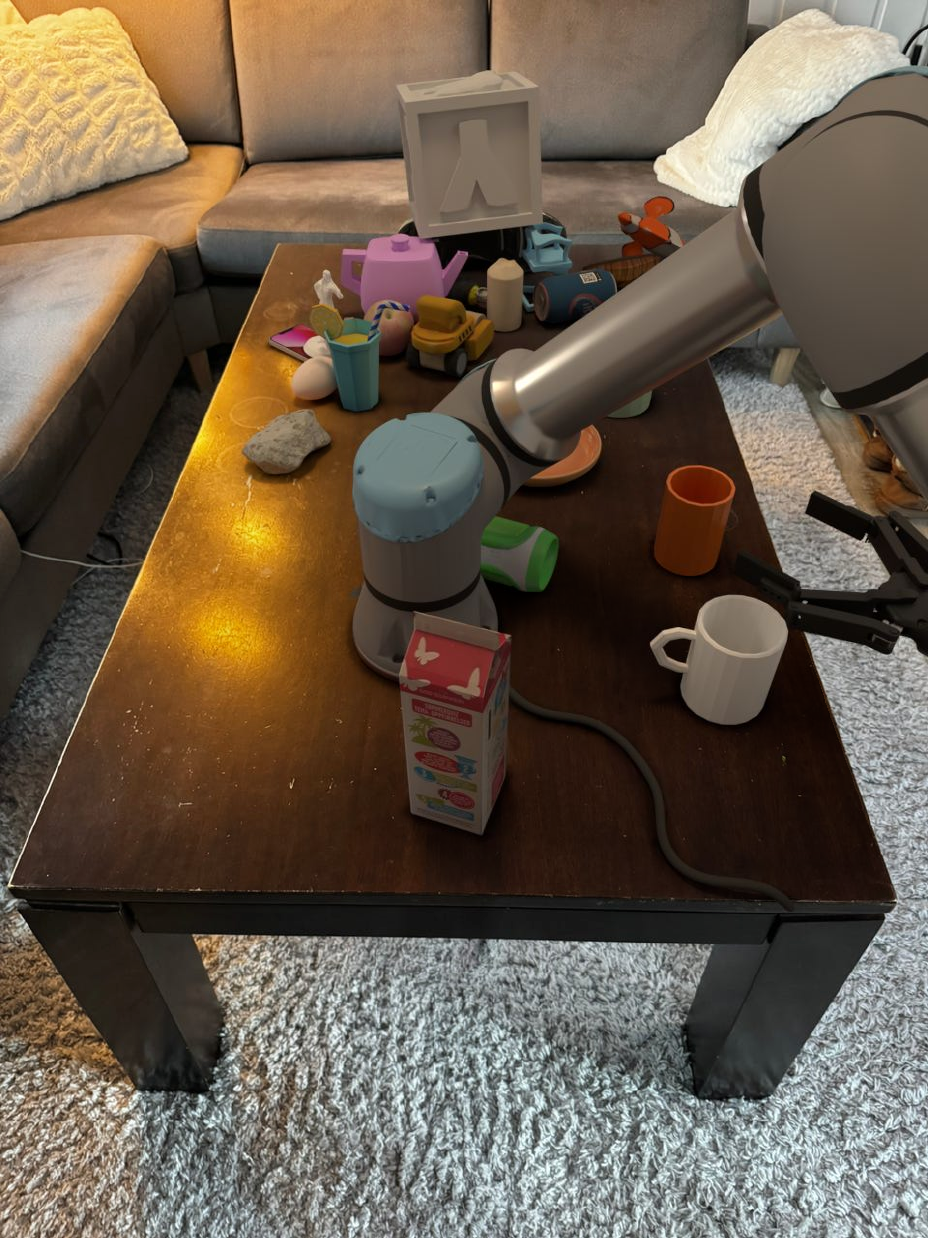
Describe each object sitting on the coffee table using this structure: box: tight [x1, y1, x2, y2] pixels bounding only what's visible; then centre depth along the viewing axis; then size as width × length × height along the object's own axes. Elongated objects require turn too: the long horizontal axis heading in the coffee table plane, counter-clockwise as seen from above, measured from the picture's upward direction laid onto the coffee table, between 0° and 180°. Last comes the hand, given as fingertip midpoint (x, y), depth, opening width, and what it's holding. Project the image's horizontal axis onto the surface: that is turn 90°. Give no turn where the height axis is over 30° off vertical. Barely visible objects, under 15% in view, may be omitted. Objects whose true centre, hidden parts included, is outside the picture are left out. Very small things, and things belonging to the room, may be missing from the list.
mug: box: [649, 594, 789, 726], centre depth 86 cm, size 8×12×10 cm, turn 88°
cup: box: [307, 301, 410, 413], centre depth 122 cm, size 14×8×15 cm, turn 86°
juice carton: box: [398, 611, 512, 836], centre depth 73 cm, size 7×7×22 cm
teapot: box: [339, 233, 468, 326], centre depth 141 cm, size 20×12×13 cm, turn 90°
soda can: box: [532, 269, 618, 324], centre depth 142 cm, size 7×7×12 cm
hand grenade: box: [445, 276, 487, 310], centre depth 146 cm, size 4×4×10 cm
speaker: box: [481, 515, 560, 593], centre depth 100 cm, size 18×7×8 cm
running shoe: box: [397, 211, 568, 274], centre depth 156 cm, size 11×29×12 cm
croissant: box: [582, 253, 661, 289], centre depth 150 cm, size 14×7×5 cm
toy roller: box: [405, 295, 495, 378], centre depth 132 cm, size 9×14×10 cm, turn 153°
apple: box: [363, 300, 415, 357], centre depth 135 cm, size 8×8×8 cm
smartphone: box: [268, 323, 319, 363], centre depth 137 cm, size 7×1×15 cm
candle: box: [486, 258, 524, 333], centre depth 140 cm, size 6×6×10 cm
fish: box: [617, 195, 687, 259], centre depth 156 cm, size 20×12×15 cm
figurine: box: [303, 269, 344, 359], centre depth 131 cm, size 7×7×12 cm
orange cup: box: [653, 464, 736, 577], centre depth 100 cm, size 7×7×10 cm
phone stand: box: [522, 222, 574, 313], centre depth 145 cm, size 8×8×12 cm
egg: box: [290, 356, 338, 401], centre depth 127 cm, size 6×6×8 cm
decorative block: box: [395, 70, 544, 239], centre depth 140 cm, size 19×19×20 cm
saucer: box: [521, 424, 603, 488], centre depth 116 cm, size 16×16×3 cm
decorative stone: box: [241, 408, 332, 475], centre depth 117 cm, size 12×11×5 cm
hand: (774, 530), depth 93 cm, fingers open, 13 cm apart
